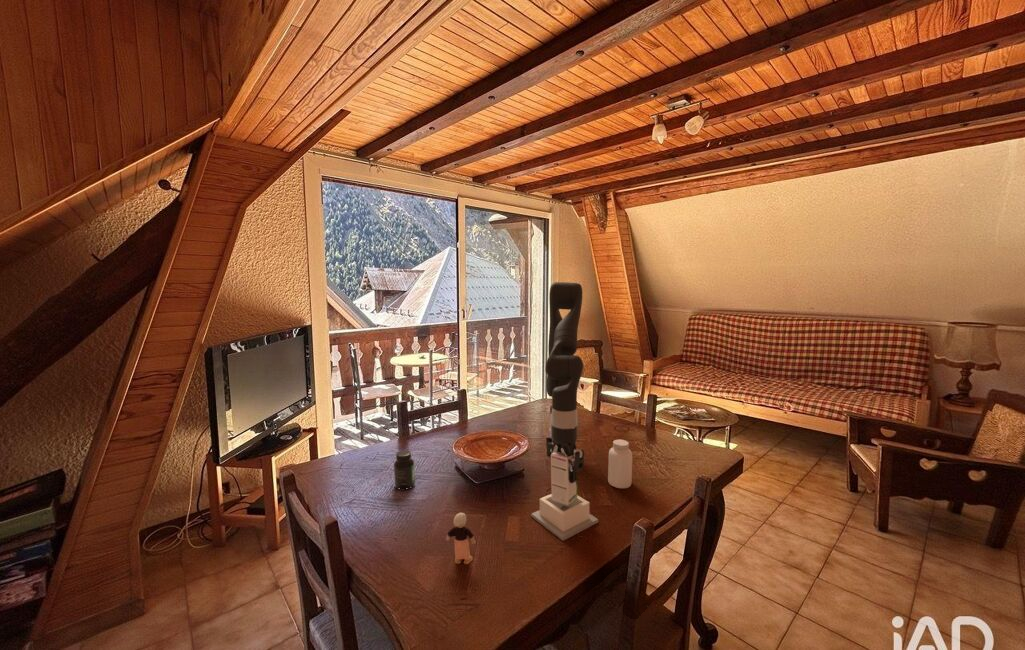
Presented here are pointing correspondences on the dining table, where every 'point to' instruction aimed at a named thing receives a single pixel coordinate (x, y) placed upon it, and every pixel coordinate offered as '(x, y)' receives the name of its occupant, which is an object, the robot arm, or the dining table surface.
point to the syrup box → (562, 479)
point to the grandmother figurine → (461, 539)
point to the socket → (564, 516)
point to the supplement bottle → (404, 470)
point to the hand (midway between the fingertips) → (564, 477)
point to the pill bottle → (620, 465)
